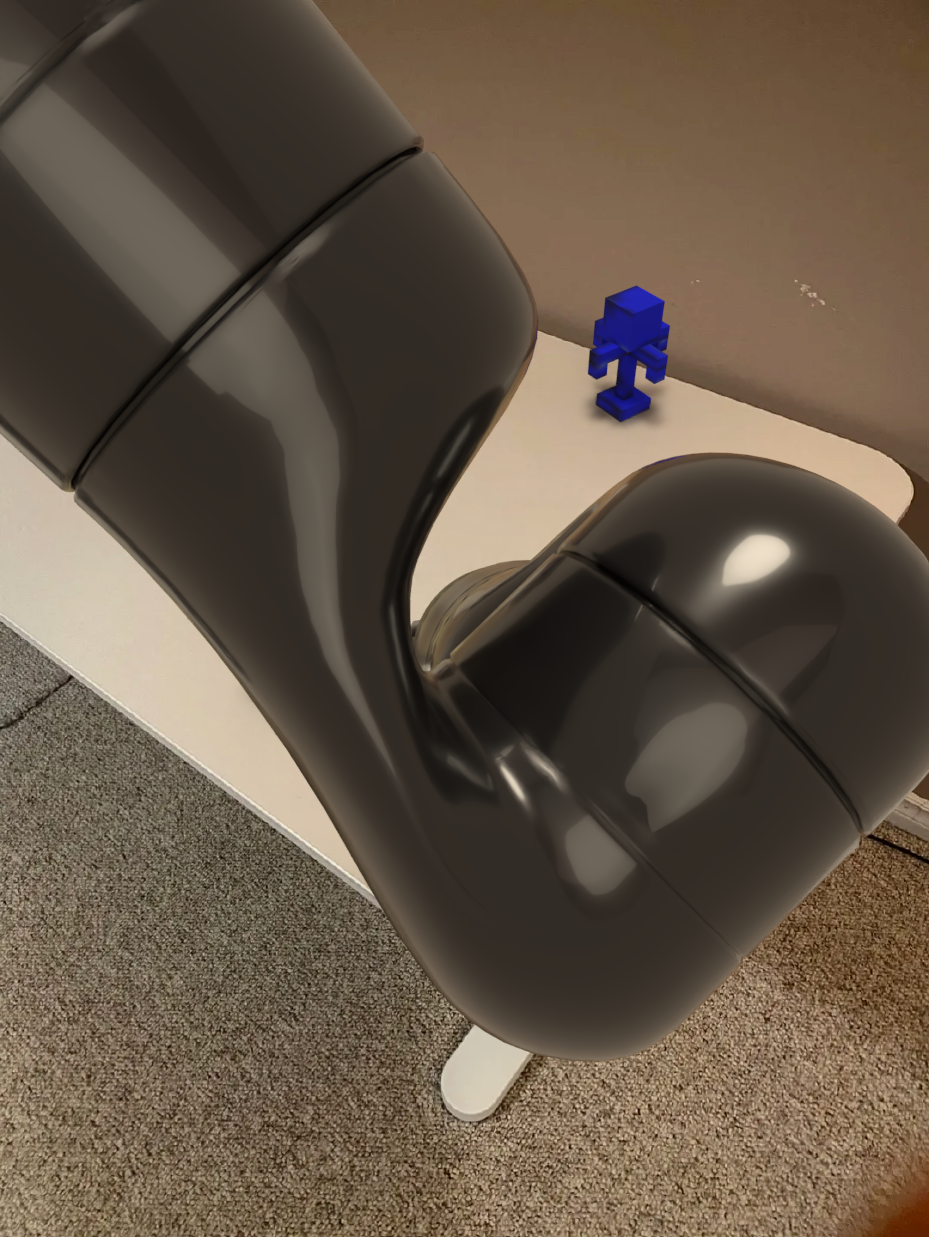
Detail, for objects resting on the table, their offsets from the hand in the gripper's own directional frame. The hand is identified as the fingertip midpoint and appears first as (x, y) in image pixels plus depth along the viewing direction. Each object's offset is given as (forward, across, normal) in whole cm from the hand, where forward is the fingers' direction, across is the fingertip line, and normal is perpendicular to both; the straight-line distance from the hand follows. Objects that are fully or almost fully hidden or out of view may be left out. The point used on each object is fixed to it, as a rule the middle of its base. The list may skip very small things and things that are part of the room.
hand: (477, 640), depth 48 cm
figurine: (+44, -22, -20) cm, 53 cm away
